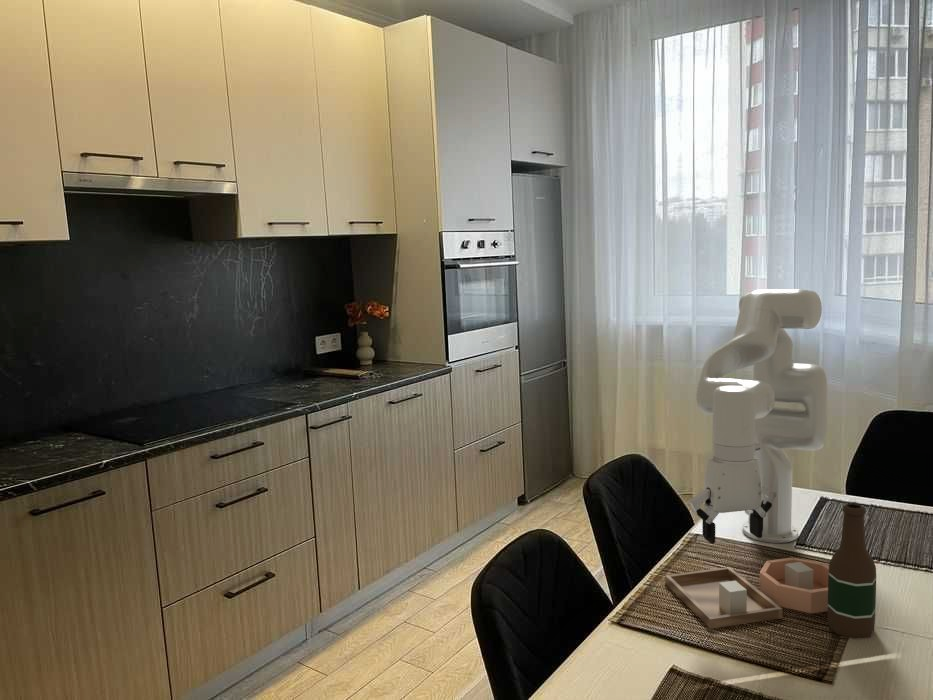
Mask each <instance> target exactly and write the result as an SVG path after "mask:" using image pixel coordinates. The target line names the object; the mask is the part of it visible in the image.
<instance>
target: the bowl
mask: <svg viewBox="0 0 933 700" xmlns="http://www.w3.org/2000/svg"><path fill="white" fill-rule="evenodd" d="M795 562H801V563H803V564H804V565H806V566H808V567H809V568H811V569H813V590H808V589H803V588H798V587H794V586H789V585H785V564H789V563H795ZM828 572H829V565H828V564H826V563H823V562H819V561H814V560H808V559H802V558H797V557H787V558H779V559H778V558H777V559H772V560H766V561H765V563H764V564H763V566H762V568H761V569H760V571H759V591H761V592H762V593H763V594H764V595H766V596H767V597H768V598H769V599H771V600H772V601H773V602H774V603H776V604H777V605H778V606H780V607H781V608H785V609H790V610H794V611H797V612H798V611H799V612H804V613H807V614H816V613H817V614H818V613H824V612H827V611H828Z"/></svg>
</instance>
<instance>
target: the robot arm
mask: <svg viewBox="0 0 933 700" xmlns="http://www.w3.org/2000/svg"><path fill="white" fill-rule="evenodd" d="M738 309H739V313H738V317H737V320H736V326H735V328H734V329H735V330H734V333H733V338H732V339H730V340H729V341H727V342H726V343H724V344H723V345H720V346H719V348H717V349H716V350H715V351H713V353H711V355H709V356H708V358H707V359H706V360H705V362H704V363H703V366H702V369H701V372H700V376H699V379H698V383H697V387H696V392H695V393H696V394H695V395H696V397H695V400H696V405H697V407H698V409H699V410H700V411H701V412H702V413H703V414H706V415H709V416H710V415H712V455H711V456H710V457H708V458H707V460H706V461H707V462H706V465H705V470H704V477H703V488H702V489H703V490H702V491H701V492H700V493H698V494H697V495H695V496H693V497H692V498H690V499H689V504H690V506H691V507H692V509H693V512H694V513H695V514H696V515H697V516H698V517H699V518H700V519H701V520H702V529H701V530H702V537H703V538H704V540H706V541H707V542H708V543H710V544H715V543H716V523H715V522H714V521H715V519H716V518H717V517H718V515H719V514H726V513H727V514H728V513H734V512H736V513H737V512H744V513H745V514H746V515H747V516H748V520H747V521H746V522H745V523H743V524H742V532H743V534H745V536H747V537H749V538H750V539H752V540H756V541H759V542H764V543H772V544H773V543H774V544H783V543H789V542H793V541H795V540H797V539H798V538H799V530H798V529H797V528H796V527H795V526H794V525H792V508H793V507H792V506H793V505H792V504H793V501H792V500H793V498H792V497H793V465H792V461H791V459H790V458H789V456H788V455H787V454H786V452H785V451H784V450H783V449H789V450H801V451H814V452H815V451H819V450H821V449H822V448H823V447H824V446H825V443H826V439H827V428H828V427H827V424H828V423H827V421H828V420H827V419H828V417H827V416H828V381H827V379H828V378H827V375H826V371H825V370H824V368H822V367H821V366H820V365H818V364H814V363H798V362H794V361H793V348H794V347H793V345H794V344H793V340H792V338H791V337H790V335H789V333H788V332H787V331H786V329H788V330H789V329H791V330H795V329H798V330H812V329H814V328H816V326H818V324H819V323H820V320H821V317H822V311H823V306H822V301H821V298H820V295H819V294H818V293H817V292H816V291H814V290H808V289H802V288H800V289H799V288H790V289H789V288H788V289H787V288H786V289H783V288H782V289H781V288H780V289H779V288H773V289H771V288H768V289H765V288H764V289H756V290H753V291H751V292H748V293H745V294H742V295H741V297H740V298H739V302H738ZM752 366H753V371H752V372H753V375H752V376H753V379H748V378H746V379H745V378H737V377H735V378H733V377H731V378H730V377H724V376H725V375H727V374H729V373H731V372H734V371H737V370H740V369H744V368H748V367H752ZM775 403H783V404H794V405H795V404H796V405H797V404H798V405H802V406H803V407H804V409H803V408H801V409H800V408H789V407H776V406H775ZM702 504H703V505H704V506H705V507H704V509H702V506H701V505H702Z"/></svg>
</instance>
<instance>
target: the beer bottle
mask: <svg viewBox="0 0 933 700" xmlns="http://www.w3.org/2000/svg"><path fill="white" fill-rule="evenodd" d="M842 512H843V519H842V531H841V532H842V533H841V540H840V544H839V547H838V549H837V550H836V551H835V552H834V553H833V554H832V556H831V559H830V561H829V564H828V566H829V572H828V611H826V612H827V613H826V615H827V617H826V618H827V626H828V628H830V629H831V630H832V631H833V632H834V633H835V634H837V635H840V636H843V637H847V638H850V639H853V640H856V639H857V640H859V639H868V638H871V637H872V636H873V633H874V632H875V625H876V605H877V604H876V603H877V601H876V599H877V567H876V564H875V561H874V559H873V557H872V556H871V554H870V552H868V549H867V546H866V533H865V514H866V513H867V511H866V507H865V506H863V505H862V504H858V503H845V504H844V505H843V507H842Z"/></svg>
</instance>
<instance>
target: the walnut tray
mask: <svg viewBox="0 0 933 700" xmlns="http://www.w3.org/2000/svg"><path fill="white" fill-rule="evenodd" d="M664 576H665V577H664V578H665V579H664V582H665V583H664V584H665V585H666V586H667V587H668V588H669V589H670V590H671V591H672V592H673V593H674V594H675V595H676V596H677V597H678V598H679V599H680V600H681V601H682V602H683V603H684V604H685V605H686V606H687V607H688V608H689V609H690V610H691V611H692V612H693V613H694V614H695V616H697V617H698V618H699V619H700V620H701V621H702V622H703V623H704V624H705V625H706V626H707V627H708V628H709V629H717V628H725V627H729V626H730V627H732V626H737V625H745V624H749V623H750V624H751V623H758V622H765V621H771V620H778V619H783V607H780V606H778V605H777V604H776V603H774V602H773V601H772V600H771V599H769V598H768V597H767V596H766V595H764V594H763V593H762V592H761V591H760V589H758V588H757V587H756V586H755V585H753V584H752V583H751V582H749V581H748V580H747V579H746V578H744V577H743V576H742V575H740V574H739V573H738V572H737V571H735V570H734V569H733V568H731V566H727V567H719V568H711V569H705V570H695V571H688V572H680V573H674V574H666V575H664ZM729 581H737V582H738V583H739V584H740V585H742V586H743V587H744V588H745V589H746V590H747V612H741V613H734V614H726V613H725V612H724V611H723V610H722V609H721V608H720V607H719V583H721V582H729Z"/></svg>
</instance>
